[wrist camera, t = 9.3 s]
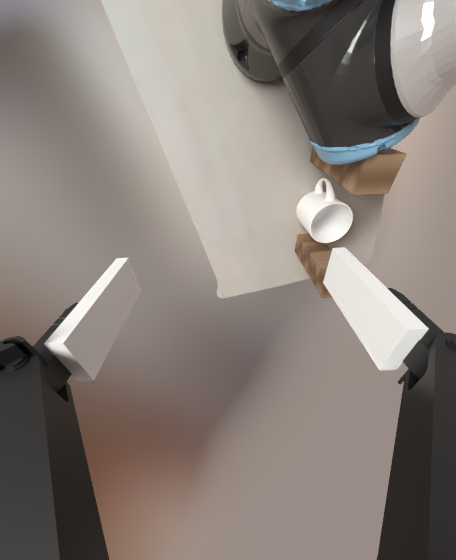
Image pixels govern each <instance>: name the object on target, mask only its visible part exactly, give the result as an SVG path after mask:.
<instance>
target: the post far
mask: <svg viewBox="0 0 456 560" xmlns="http://www.w3.org/2000/svg"><path fill="white" fill-rule="evenodd" d="M295 252H296V254H297V256H298V257H299V259H300V261H301V263H302V264H303V266H304V268H305V269H306V271H307V273H308V275H309V276H310V278H311V280H312V281H313V283H314V285H315V287H316V288H317V290H318V292H319V293H320V295H321V297H322V298H333V297H332V296H331V294H330V293H329V291H328V290H327V288H326V287H325V285H324V283H323V281H324V277H325V274H326V270H327V267H328V263H329V259H330V256H331V252H332V250H331V249H330V248H329V247H328V246H327V245H326V244H325V243H321V242H318V241H316V240H314V239H313V238H312V236H311V235H310V234H299V235H298V236H297V242H296V248H295Z"/></svg>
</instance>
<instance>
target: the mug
mask: <svg viewBox="0 0 456 560" xmlns="http://www.w3.org/2000/svg"><path fill="white" fill-rule="evenodd" d="M323 180H325V182H326V192H324V191H323V187H322V182H323ZM296 214H297V218H298V220H299V222H300V223H301V224H302V225H303V227H304V228H305V229H306V230H307V232H308V233H309V234H310V235H311V236H312V238H313V239H314V240H316V241H318V242H321V243H330V242H333V241H336V240H338V239H340V238H341V237H342V236H344V235H345V234H346V233H347V231H348V230H349V228H350V227H351V224H352V221H353V213H352V210H351V208H350V207H349V206H348V205H346V204H345V203H343V202H341V201H340V200H338V199H336V198H335V194H334V190H333V187H332V184H331V183H330V181H329V180H328V179H326V178H322V179H320V180H319V181H318V183H317V185H316V187H315V190H314V191H313V192H310V193H308V194H306V195H305V196H304V197H303V198H302V199H301V200H300V202H299V204H298V206H297V210H296Z"/></svg>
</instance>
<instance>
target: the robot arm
mask: <svg viewBox="0 0 456 560" xmlns="http://www.w3.org/2000/svg"><path fill="white" fill-rule="evenodd" d="M222 19H223V31H224V36H225V41H226V45H227V48H228V51H229V53H230V55H231V57H232V59H233V61H234V63H235V64H236V66H237V67H238V68H239V69H240V71H241V72H242V73H244V74H245V75H246V76H248V77H249V78H251V79H253V80H256V81H260V82H270V81H274V80H277V79H279V78H281V77H284V76H285V75H286V74H287V73H288V74H287V75H286V76H285V77H284V78H283V81H284V83H285V85H286V87H287V90H288V92H289V94H290V96H291V99H292V101H293V103H294V105H295V108H296V110H297V112H298V114H299V117H300V119H301V121H302V123H303V126H304V128H305V130H306V132H307V137H308V140H309V141H310V143H311V144H312V145H313V146H314V148H315V150H316V152H317V154H318V156H319V157H320V159H322V160H323V161H324V162H326V163H329V164H336V165H340V164H348V163H353V162H357V161H360V160H363V159H366V158H369V157H371V156H374V155H376V154H377V152H378V151H379V150H383V149H388V148H390V147H391V146H393V145H395V144H396V143H398V142H399V141H401V140H402V139H403V138H405V137H406V136H407V135H408V134H409V133H410V132H411V131H412V130H413V129H414V127H415V126H416V125H417V124H418V122H419V119H420V117H423V116H425V115H427V114H429V113H431V112H432V111H433V110H434V109H435V108H436V107H437V106H438V105H439V103H440V102H441V101H442V99H443V98H444V97H445V96H446V94H447V93H448V92H449V90H450V89H451V88H452V87H453V86H455V85H456V0H223V5H222ZM323 283H324V285H325V287H326V288H327V290H328V291H329V293H330V294H331V296H332V297H333V299H334V300H335V302H336V304H337V305H338V307H339V308H340V310H341V311H342V313H343V314H344V316H345V318H346V319H347V320H348V322H349V323H350V325H351V327H352V328H353V330H354V331H355V333H356V335H357V336H358V337H359V339H360V341H361V342H362V344H363V345H364V347H365V348H366V350H367V352H368V353H369V355H370V356H371V358H372V359H373V361H374V362H375V364H376V365H377V367H378V369H379V370H397V369H398V367H399V366H400V365H401V364H402V362H404V363H405V365H406V366H407V367H408V368H409V369H408V370H407V371H406V372H405V374H404V375H403V376H402V377H401V378H400V380H399V381H398V383H399V384H401V383H402V382H403V381H404V386H403V392H402V399H401V405H400V412H399V418H398V426H397V432H396V438H395V445H394V452H393V458H392V465H391V471H390V478H389V485H388V491H387V498H386V504H385V511H384V518H383V525H382V531H381V537H380V544H379V551H378V556H377V560H456V334H452V333H444V332H443V331H442V330H441V329H440V328H439V327H438V326H437V325H436V324H434V323H433V322H432V321H431V320H430V319H429V318H428V317H427V316H426V315H425V314H424V313H423V312H421V311H420V310H419V309H417V307H416V306H415V305H414V304H413V303H411V302H410V301H409V300H408V299H407V298H406V297H405V296H404V295H403V294H401V293H399V292H397V291H396V290H394V289H392V288H386V287H385V286H384V285H383V284H382V283H381V282H380V281H379V280H378V279H377V278H376V277H375V276H374V275H373V274H372V273H371V272H370V271H368V269H367V268H366V267H365V266H364V265H362V264H361V263H360V262H359V261H358V260H357V259H356V258H355V257H354V256H353V255H352V254H351V253H350V252H349V251H348V250H347V249H346V248H345V247H343V248H333V249H332V252H331V256H330V259H329V263H328V267H327V270H326V274H325V277H324V281H323ZM140 292H141V289H140V287H139V284H138V281H137V279H136V276H135V273H134V271H133V268H132V265H131V263H130V260H129V258H117V259H116V260H115V261H114V262H113V264H112V265H111V266H110V267H109V268H108V269H107V271H106V272H105V273H104V274H103V275H102V276H101V278H100V279H99V280H98V281H97V282H96V283H95V285H94V286H93V287H92V288H91V289H90V290H89V292H88V293H87V294H86V295H85V296H84V297H83V299H82V300H81V301H80V302H79V303H75V304H73V305H72V306H70V307H69V308H68V309H66V310H65V311H64V312H63V314H62V315H61V316H60V317H59V319H57V320H56V321H55V323H54V325H52V326H51V327H50V328H49V329H48V330H47V332H46V333H45V334H44V335H43V336H42V337H41V338H40V339H39V340H38V342H37V343H36V344H35V345H34V346H33V347H32V346H31V345H30V344H29V343H28V342H27V341H26V340H25V339H24V338H23V337H20V336H16V337H10V338H7V339H4V340H2V341H0V560H109V556H108V552H107V548H106V543H105V539H104V535H103V530H102V525H101V521H100V517H99V512H98V508H97V503H96V499H95V495H94V490H93V486H92V481H91V477H90V472H89V468H88V464H87V459H86V455H85V450H84V446H83V442H82V437H81V432H80V429H79V424H78V419H77V415H76V410H75V406H74V402H73V397H72V393H71V388H70V385H69V384H68V382H67V380H68V379H69V377H70V375H72V376H73V377H74V378H75V379H76V380H77V381H94V379H95V377H96V375H97V373H98V372H99V370H100V368H101V366H102V364H103V362H104V360H105V358H106V356H107V355H108V353H109V351H110V349H111V347H112V345H113V343H114V341H115V339H116V337H117V336H118V334H119V332H120V330H121V328H122V326H123V324H124V322H125V321H126V319H127V317H128V315H129V313H130V311H131V309H132V307H133V305H134V303H135V302H136V300H137V298H138V296H139V294H140Z"/></svg>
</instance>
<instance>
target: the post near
mask: <svg viewBox="0 0 456 560" xmlns="http://www.w3.org/2000/svg"><path fill="white" fill-rule="evenodd" d="M405 156H406V153H402V152H400V151H397V150H394V149H391V148H388V149H383V150H379V151H378V152H377V154H376V155H374V156H371V157H369V158H366V159H363V160H360V161H357V162H353V163H348V164H340V165H336V164H329V163H326V162H324V161H323V160H322V159H320V157H319V156H318V154H317V152H316V150H315V148H314V146H313V151H312V156H311V160H310V161H311V162H312V163H313V164H314V165H316V166H317V167H318V168H319V169H321V170H322V171H323V172H325V173H326V174H327V175H328V176H330V177H331V178H332V179H334V180H335V181H336V182H337V183H339V184H340V185H341V186H342V187H344V188H345V189H346V190H348V191H349V192H350V193H351V194H353V195H364V194H386V193H388V192H389V190H390V188H391V186H392V184H393V181H394V179H395V177H396V175H397V173H398V171H399V169H400V167H401V165H402V163H403V161H404V158H405Z"/></svg>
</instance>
